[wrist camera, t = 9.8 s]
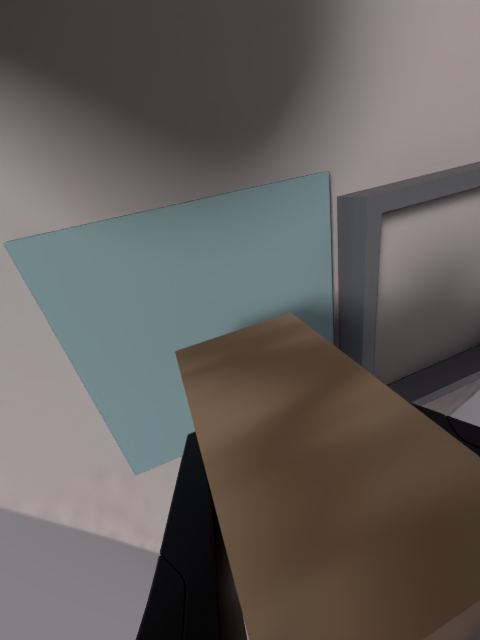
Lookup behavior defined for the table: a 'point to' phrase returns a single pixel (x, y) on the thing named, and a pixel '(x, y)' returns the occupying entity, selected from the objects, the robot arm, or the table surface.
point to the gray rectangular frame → (362, 278)
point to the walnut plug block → (332, 492)
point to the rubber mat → (177, 295)
